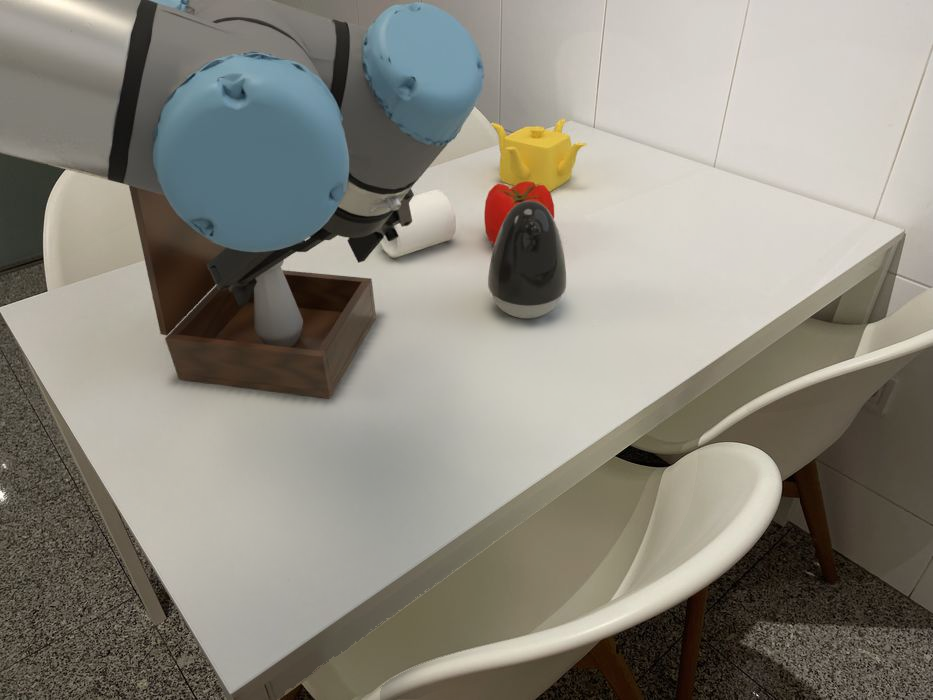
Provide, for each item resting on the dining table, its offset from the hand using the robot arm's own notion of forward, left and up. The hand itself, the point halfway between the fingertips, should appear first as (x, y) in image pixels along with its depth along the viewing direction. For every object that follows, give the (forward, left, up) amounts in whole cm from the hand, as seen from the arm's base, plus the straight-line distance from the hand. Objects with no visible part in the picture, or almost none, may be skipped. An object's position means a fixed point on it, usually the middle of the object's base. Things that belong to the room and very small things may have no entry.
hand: (298, 271), depth 72 cm
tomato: (+35, +25, -15) cm, 46 cm away
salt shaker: (-3, +9, -14) cm, 18 cm away
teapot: (+47, +47, -15) cm, 68 cm away
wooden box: (-3, +9, -15) cm, 18 cm away
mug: (+19, +31, -15) cm, 40 cm away
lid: (-10, +13, +1) cm, 17 cm away
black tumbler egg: (+29, +7, -15) cm, 33 cm away
